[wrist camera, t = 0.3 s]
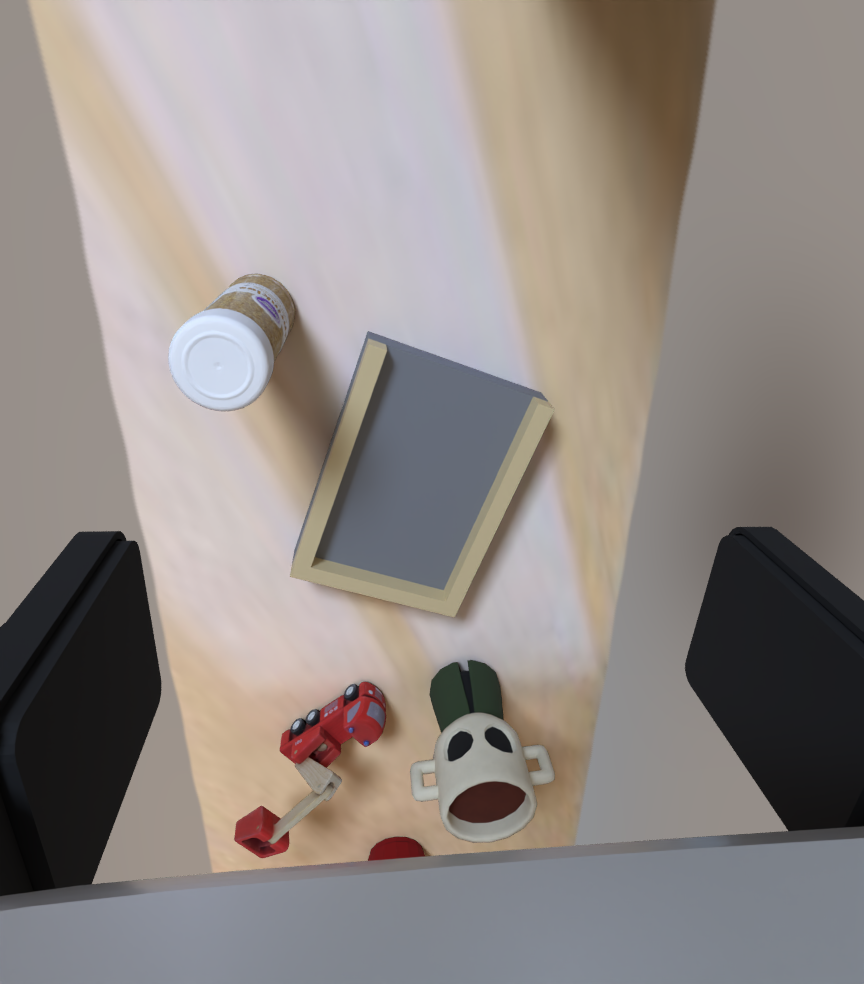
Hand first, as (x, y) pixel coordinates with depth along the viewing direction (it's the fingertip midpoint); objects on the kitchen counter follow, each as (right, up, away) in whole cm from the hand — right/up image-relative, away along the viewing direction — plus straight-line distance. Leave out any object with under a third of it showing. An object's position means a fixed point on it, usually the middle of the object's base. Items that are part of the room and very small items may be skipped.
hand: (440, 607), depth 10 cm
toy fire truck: (-10, -19, +48) cm, 52 cm away
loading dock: (-2, +3, +37) cm, 37 cm away
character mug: (+3, -15, +47) cm, 50 cm away
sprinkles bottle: (-11, +14, +31) cm, 36 cm away
